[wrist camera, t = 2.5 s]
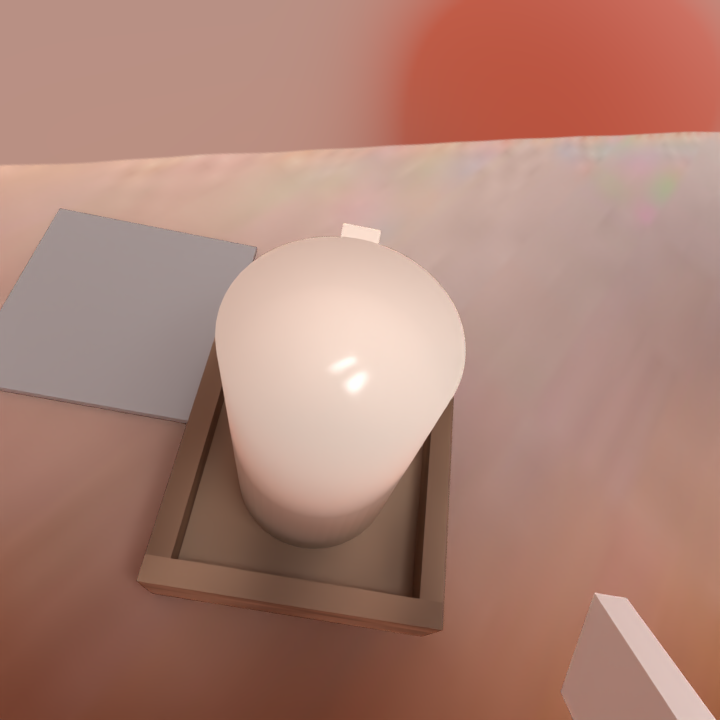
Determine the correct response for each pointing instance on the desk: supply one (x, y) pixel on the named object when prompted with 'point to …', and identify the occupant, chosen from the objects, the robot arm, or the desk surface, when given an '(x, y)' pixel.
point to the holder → (290, 563)
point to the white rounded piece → (332, 380)
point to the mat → (116, 315)
